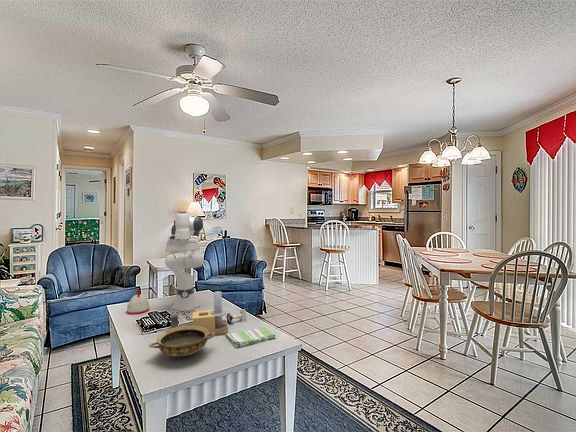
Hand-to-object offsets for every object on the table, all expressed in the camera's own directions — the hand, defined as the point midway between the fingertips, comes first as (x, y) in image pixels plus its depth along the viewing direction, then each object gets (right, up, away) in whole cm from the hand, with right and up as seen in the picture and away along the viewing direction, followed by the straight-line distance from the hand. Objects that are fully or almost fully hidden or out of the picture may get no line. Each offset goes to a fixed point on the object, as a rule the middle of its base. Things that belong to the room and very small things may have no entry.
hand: (182, 258), depth 197 cm
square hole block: (+21, -38, -17) cm, 46 cm away
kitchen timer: (-36, -39, +17) cm, 56 cm away
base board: (+20, -39, -17) cm, 47 cm away
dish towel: (+46, -40, -28) cm, 67 cm away
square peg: (+3, -39, -22) cm, 45 cm away
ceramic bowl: (+16, -40, -47) cm, 64 cm away
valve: (+35, -39, -4) cm, 53 cm away
